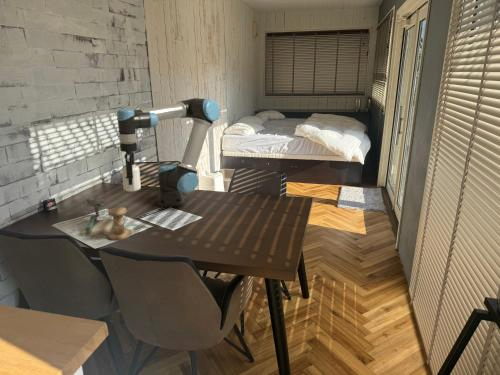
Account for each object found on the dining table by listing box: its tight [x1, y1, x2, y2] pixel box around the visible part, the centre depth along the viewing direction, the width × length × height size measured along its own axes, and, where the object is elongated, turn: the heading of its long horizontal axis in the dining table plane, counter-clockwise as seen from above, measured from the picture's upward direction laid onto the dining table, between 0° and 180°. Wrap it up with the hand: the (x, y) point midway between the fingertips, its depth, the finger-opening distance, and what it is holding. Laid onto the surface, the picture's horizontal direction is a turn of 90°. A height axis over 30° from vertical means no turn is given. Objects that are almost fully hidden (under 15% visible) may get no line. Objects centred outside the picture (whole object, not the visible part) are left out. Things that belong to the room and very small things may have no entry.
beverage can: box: [121, 163, 142, 192], centre depth 169 cm, size 8×8×12 cm
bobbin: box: [107, 206, 132, 241], centre depth 162 cm, size 10×10×13 cm
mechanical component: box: [85, 197, 106, 218], centre depth 185 cm, size 3×10×10 cm, turn 79°
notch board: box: [84, 214, 125, 237], centre depth 172 cm, size 16×16×4 cm
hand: (132, 188), depth 171 cm, fingers closed on beverage can, 8 cm apart
